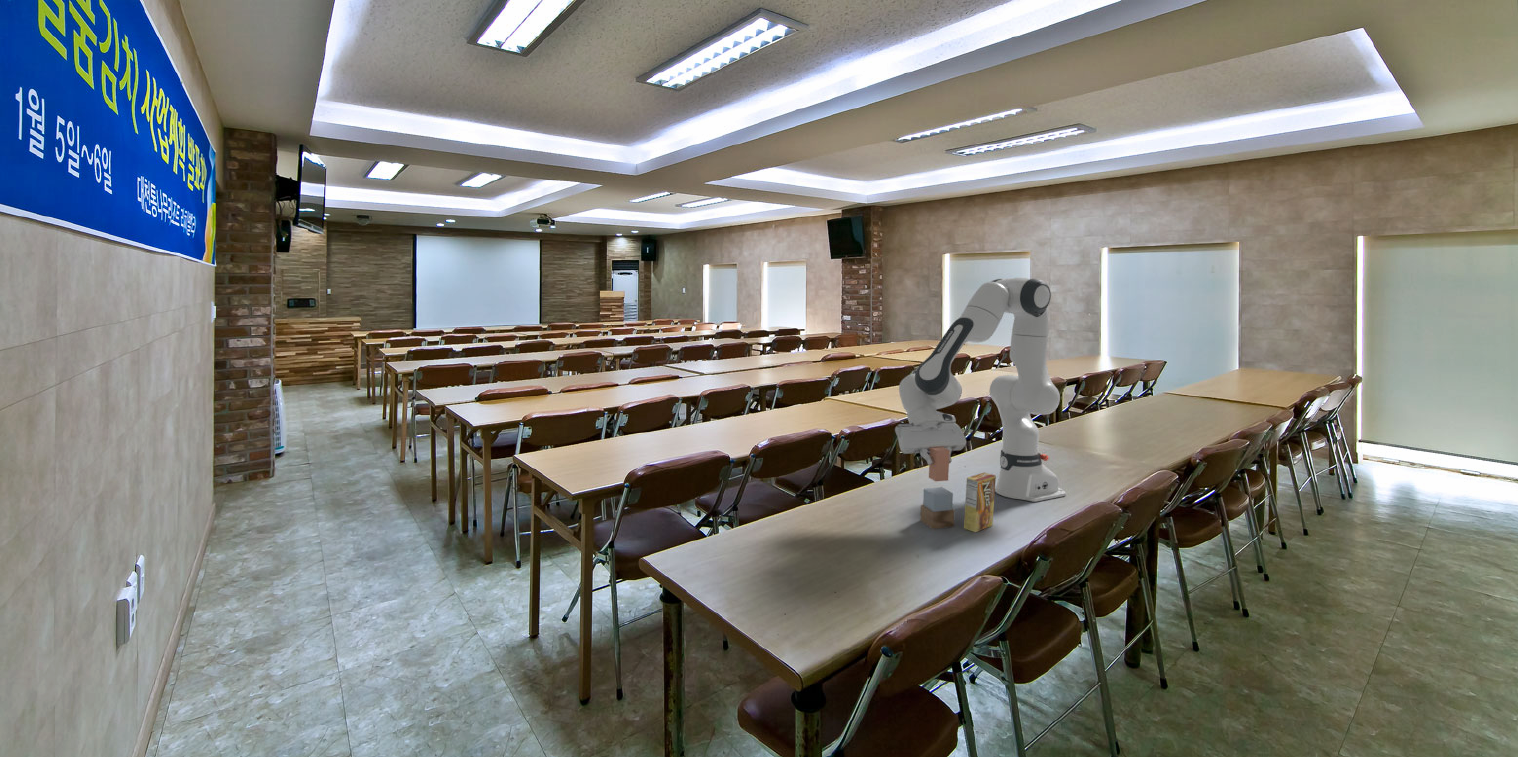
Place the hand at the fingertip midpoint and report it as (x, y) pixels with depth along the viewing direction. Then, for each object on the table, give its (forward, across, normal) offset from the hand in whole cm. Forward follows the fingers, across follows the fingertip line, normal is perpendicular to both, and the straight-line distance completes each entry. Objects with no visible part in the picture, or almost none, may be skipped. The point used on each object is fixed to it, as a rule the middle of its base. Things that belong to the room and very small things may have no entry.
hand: (940, 463), depth 196 cm
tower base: (+13, 0, +14) cm, 19 cm away
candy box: (+17, +10, +9) cm, 22 cm away
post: (+3, 0, +4) cm, 5 cm away
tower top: (+9, 0, +10) cm, 14 cm away
